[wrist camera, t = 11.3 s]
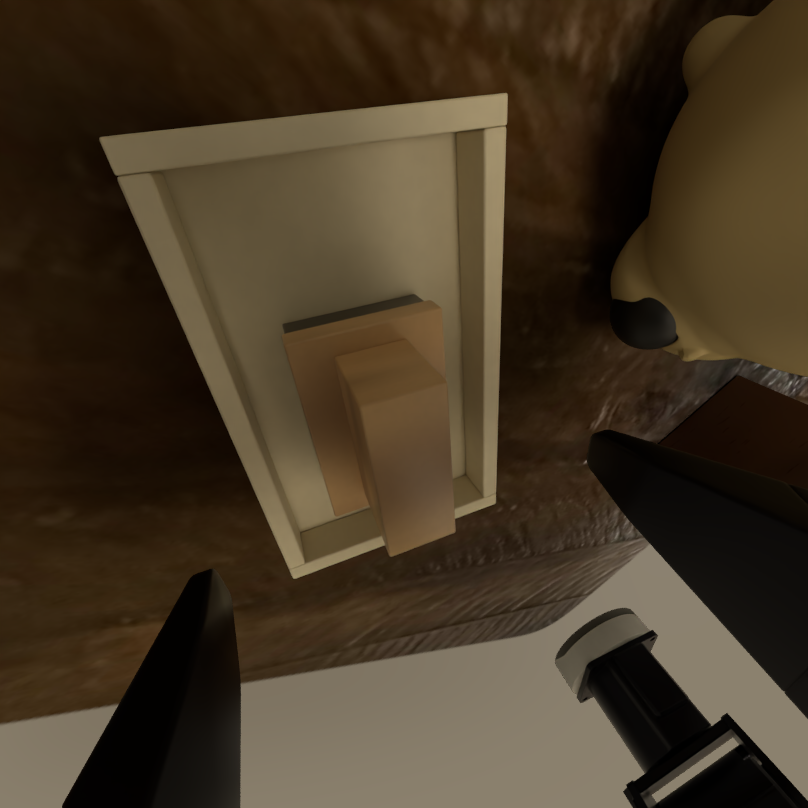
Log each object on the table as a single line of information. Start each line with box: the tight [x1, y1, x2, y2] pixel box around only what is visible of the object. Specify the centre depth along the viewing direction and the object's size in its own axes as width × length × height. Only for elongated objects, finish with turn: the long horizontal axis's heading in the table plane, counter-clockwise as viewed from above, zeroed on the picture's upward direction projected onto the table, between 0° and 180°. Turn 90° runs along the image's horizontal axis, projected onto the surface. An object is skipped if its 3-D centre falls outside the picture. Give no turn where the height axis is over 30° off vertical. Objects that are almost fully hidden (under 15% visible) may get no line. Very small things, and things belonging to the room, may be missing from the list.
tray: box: [99, 93, 508, 579], centre depth 12 cm, size 13×8×2 cm, turn 7°
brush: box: [281, 294, 456, 557], centre depth 12 cm, size 6×4×4 cm
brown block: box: [659, 375, 808, 489], centre depth 19 cm, size 7×5×10 cm
